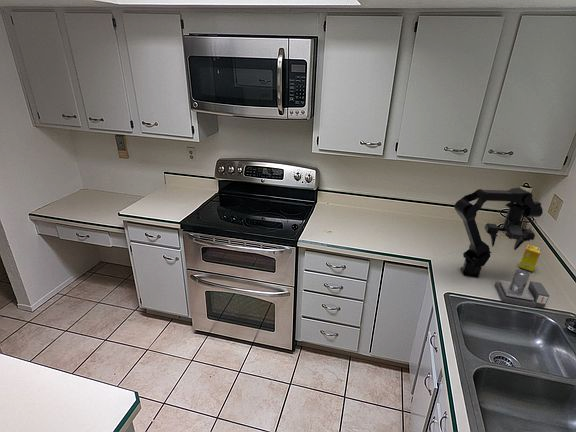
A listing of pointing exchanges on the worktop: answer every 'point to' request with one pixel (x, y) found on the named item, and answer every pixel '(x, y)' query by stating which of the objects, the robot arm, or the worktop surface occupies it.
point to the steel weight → (519, 280)
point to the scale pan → (509, 292)
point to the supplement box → (530, 258)
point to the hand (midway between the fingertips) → (503, 247)
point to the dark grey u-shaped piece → (537, 293)
